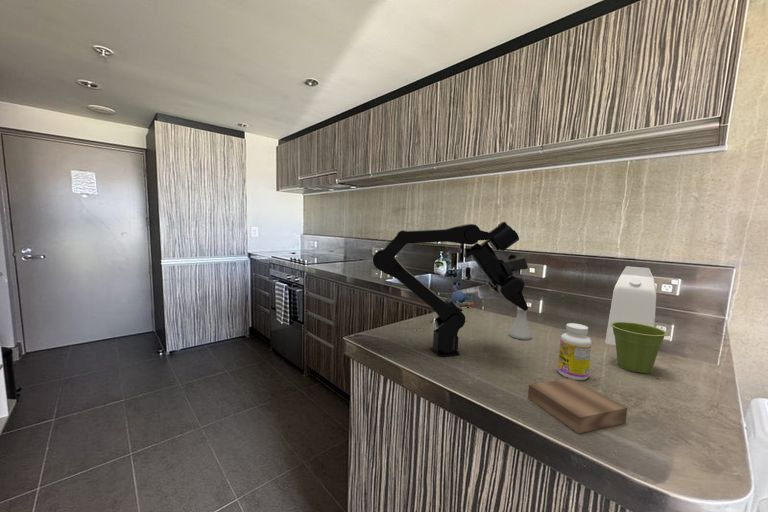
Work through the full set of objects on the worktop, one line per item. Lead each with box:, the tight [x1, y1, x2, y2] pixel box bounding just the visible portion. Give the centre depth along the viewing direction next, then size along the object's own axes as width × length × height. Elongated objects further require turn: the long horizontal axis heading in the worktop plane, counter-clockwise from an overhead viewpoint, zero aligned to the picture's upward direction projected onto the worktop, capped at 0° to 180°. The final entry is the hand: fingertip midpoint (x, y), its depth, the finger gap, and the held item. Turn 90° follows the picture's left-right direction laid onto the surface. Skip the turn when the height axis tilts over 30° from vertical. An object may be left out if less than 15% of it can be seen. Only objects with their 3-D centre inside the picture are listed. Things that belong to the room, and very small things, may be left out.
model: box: [450, 285, 475, 307], centre depth 149 cm, size 12×9×9 cm
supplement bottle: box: [557, 322, 593, 381], centre depth 77 cm, size 7×7×13 cm
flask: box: [508, 307, 533, 341], centre depth 106 cm, size 7×7×10 cm
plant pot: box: [611, 322, 668, 374], centre depth 83 cm, size 12×12×11 cm
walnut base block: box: [527, 378, 628, 434], centre depth 62 cm, size 12×12×3 cm
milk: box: [604, 265, 657, 346], centre depth 102 cm, size 12×12×26 cm
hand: (521, 306), depth 87 cm, fingers open, 9 cm apart
